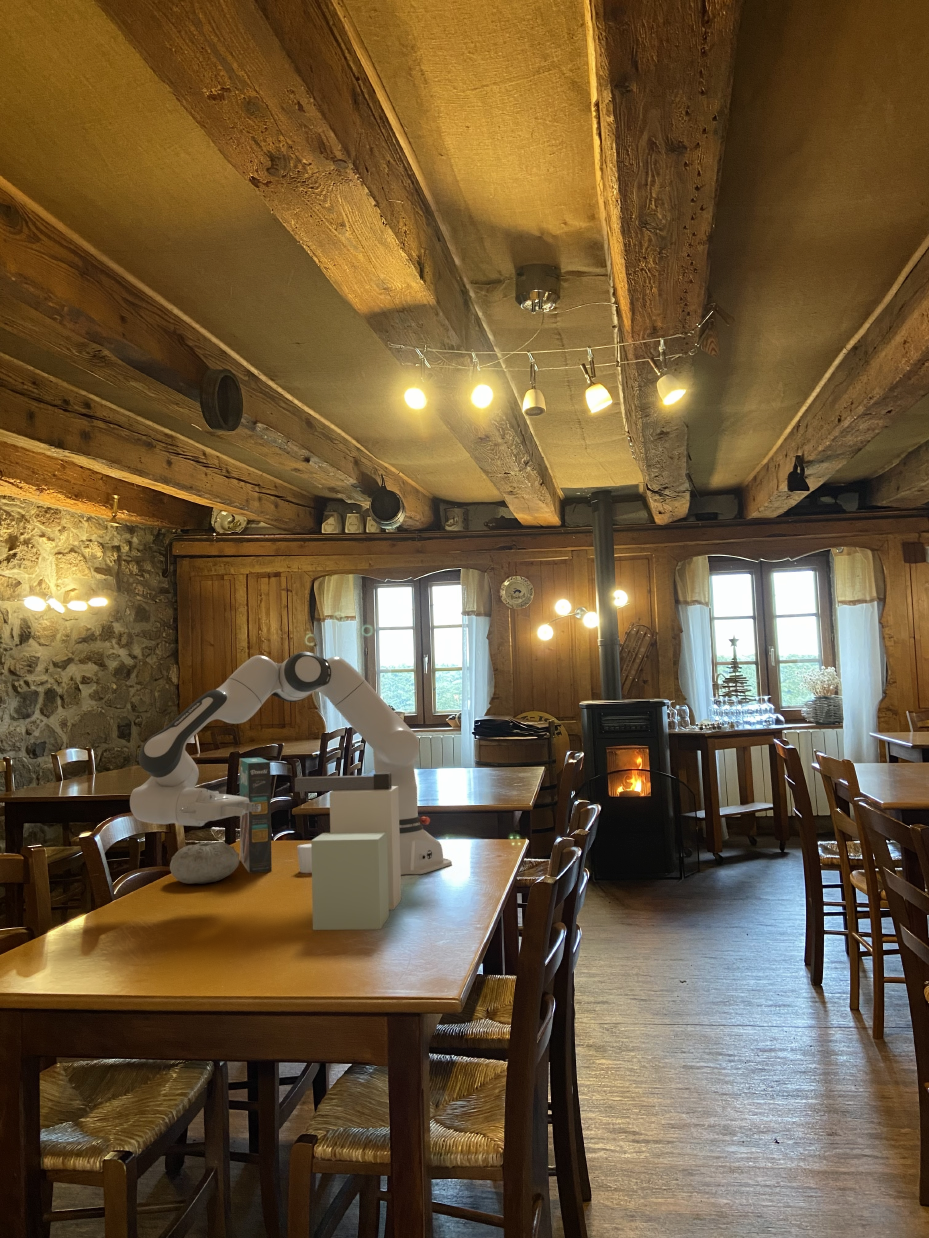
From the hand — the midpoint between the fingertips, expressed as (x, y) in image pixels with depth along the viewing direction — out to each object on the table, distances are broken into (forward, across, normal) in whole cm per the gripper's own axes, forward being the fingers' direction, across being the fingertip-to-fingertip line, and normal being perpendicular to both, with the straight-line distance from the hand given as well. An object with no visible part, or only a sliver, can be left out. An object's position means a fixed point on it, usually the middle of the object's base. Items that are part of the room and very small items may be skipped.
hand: (251, 809), depth 205 cm
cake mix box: (-17, +47, +21) cm, 55 cm away
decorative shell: (-23, +26, +22) cm, 41 cm away
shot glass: (+2, +40, +20) cm, 44 cm away
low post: (+30, -15, +20) cm, 39 cm away
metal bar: (+22, 0, -6) cm, 23 cm away
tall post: (+28, +1, +20) cm, 35 cm away
